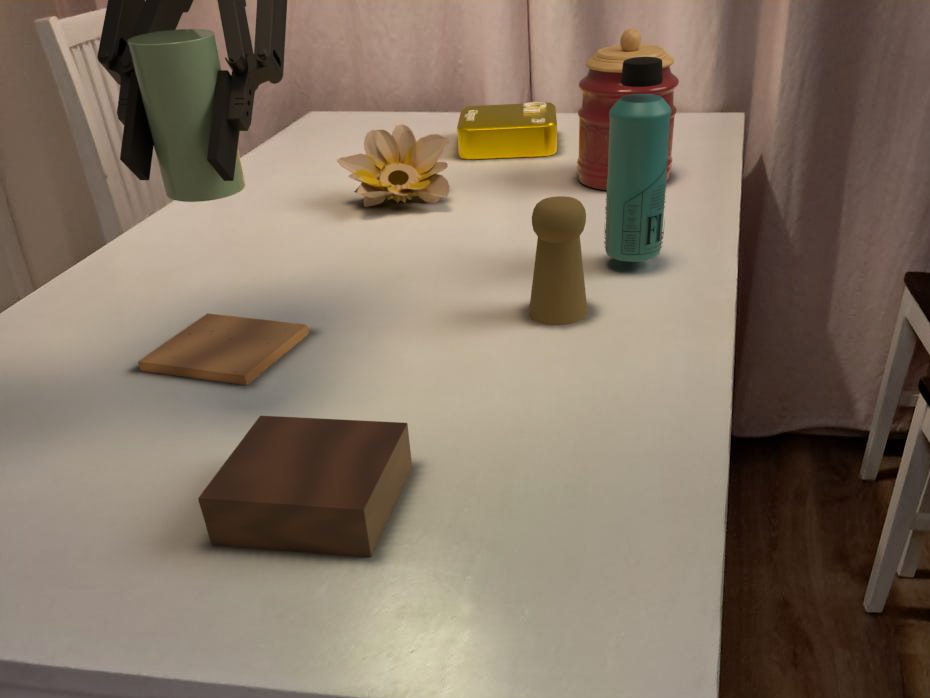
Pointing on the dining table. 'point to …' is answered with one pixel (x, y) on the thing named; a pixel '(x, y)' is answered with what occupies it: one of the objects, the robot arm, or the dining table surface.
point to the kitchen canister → (604, 93)
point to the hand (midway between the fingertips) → (177, 169)
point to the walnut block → (309, 485)
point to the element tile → (507, 131)
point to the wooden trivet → (224, 348)
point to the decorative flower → (399, 167)
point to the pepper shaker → (558, 262)
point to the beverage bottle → (637, 165)
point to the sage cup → (182, 110)
